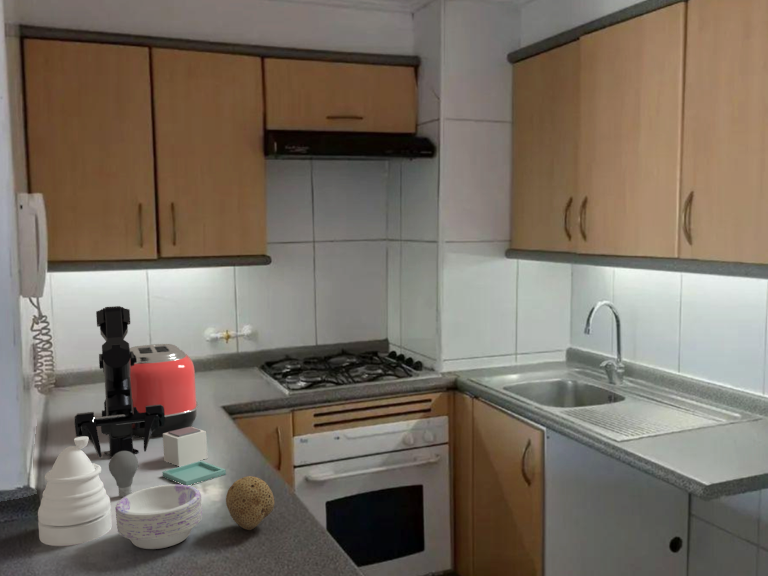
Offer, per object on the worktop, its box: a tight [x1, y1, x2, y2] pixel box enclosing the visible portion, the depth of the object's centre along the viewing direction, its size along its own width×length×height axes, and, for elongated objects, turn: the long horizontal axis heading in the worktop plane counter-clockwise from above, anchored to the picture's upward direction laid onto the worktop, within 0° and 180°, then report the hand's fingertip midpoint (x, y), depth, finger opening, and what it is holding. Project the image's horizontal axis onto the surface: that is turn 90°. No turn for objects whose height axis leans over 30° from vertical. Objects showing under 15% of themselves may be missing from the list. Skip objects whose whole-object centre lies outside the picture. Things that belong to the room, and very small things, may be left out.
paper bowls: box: [115, 483, 203, 550], centre depth 134 cm, size 15×15×8 cm
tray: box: [162, 460, 227, 486], centre depth 169 cm, size 10×10×1 cm
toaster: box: [130, 343, 199, 439], centre depth 214 cm, size 32×23×23 cm
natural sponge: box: [225, 475, 275, 531], centre depth 138 cm, size 9×9×10 cm
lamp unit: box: [162, 426, 208, 467], centre depth 180 cm, size 7×8×7 cm
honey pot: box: [37, 436, 113, 547], centre depth 138 cm, size 13×13×18 cm
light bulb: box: [108, 451, 139, 498], centre depth 156 cm, size 6×6×10 cm
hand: (122, 453), depth 156 cm, fingers open, 9 cm apart
